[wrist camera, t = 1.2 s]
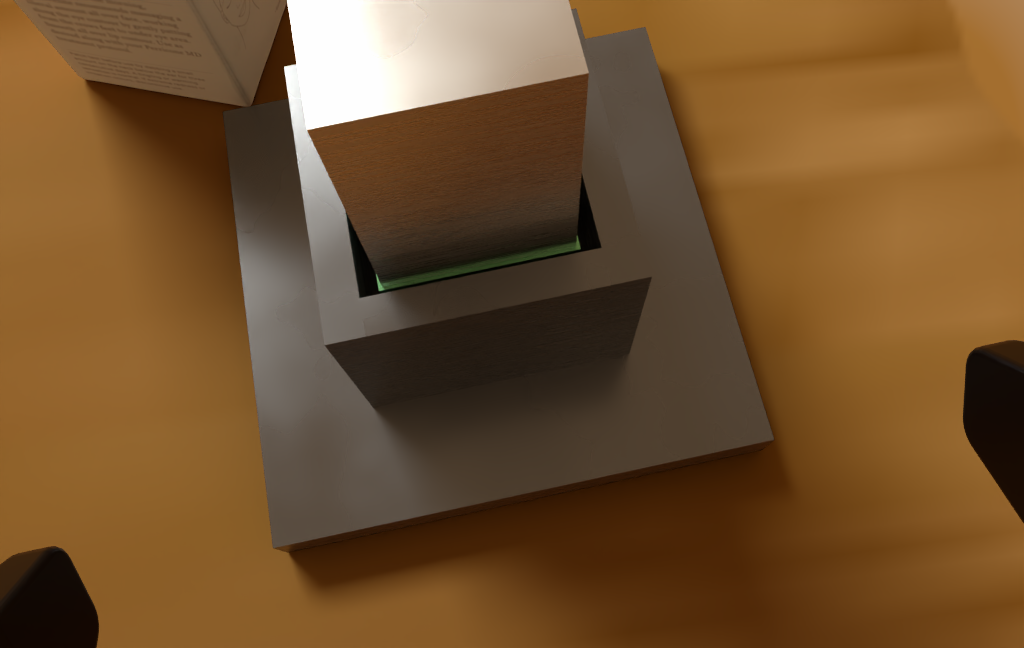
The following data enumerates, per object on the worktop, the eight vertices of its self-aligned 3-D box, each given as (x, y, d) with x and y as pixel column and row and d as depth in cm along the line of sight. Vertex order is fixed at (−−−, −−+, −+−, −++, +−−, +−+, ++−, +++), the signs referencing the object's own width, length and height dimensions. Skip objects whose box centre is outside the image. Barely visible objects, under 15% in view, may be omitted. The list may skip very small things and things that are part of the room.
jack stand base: (762, 449, 22) (840, 384, 16) (287, 552, 22) (190, 523, 16) (640, 53, 26) (668, -115, 20) (237, 134, 26) (144, -13, 20)
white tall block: (574, 317, 22) (595, 76, 12) (408, 351, 22) (301, 135, 12) (538, 170, 23) (532, -147, 14) (382, 202, 23) (267, -96, 14)
